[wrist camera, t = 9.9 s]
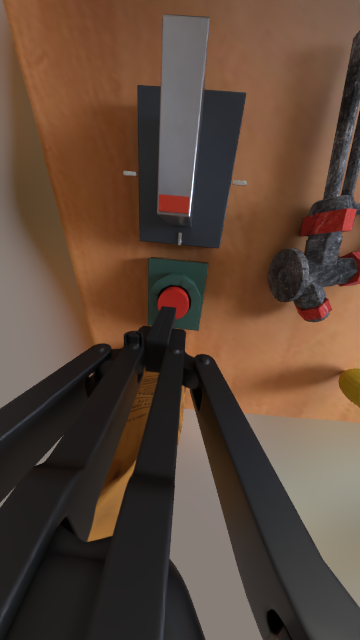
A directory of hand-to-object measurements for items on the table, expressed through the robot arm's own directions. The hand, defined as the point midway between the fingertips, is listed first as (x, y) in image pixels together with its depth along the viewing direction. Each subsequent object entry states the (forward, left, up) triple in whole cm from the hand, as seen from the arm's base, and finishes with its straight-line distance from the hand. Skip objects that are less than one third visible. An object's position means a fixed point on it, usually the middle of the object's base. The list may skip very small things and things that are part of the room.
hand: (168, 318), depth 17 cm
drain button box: (0, 0, -9) cm, 9 cm away
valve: (-12, +19, -10) cm, 24 cm away
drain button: (0, 0, -6) cm, 6 cm away
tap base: (-14, 0, -9) cm, 16 cm away
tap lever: (-14, 0, -7) cm, 15 cm away
